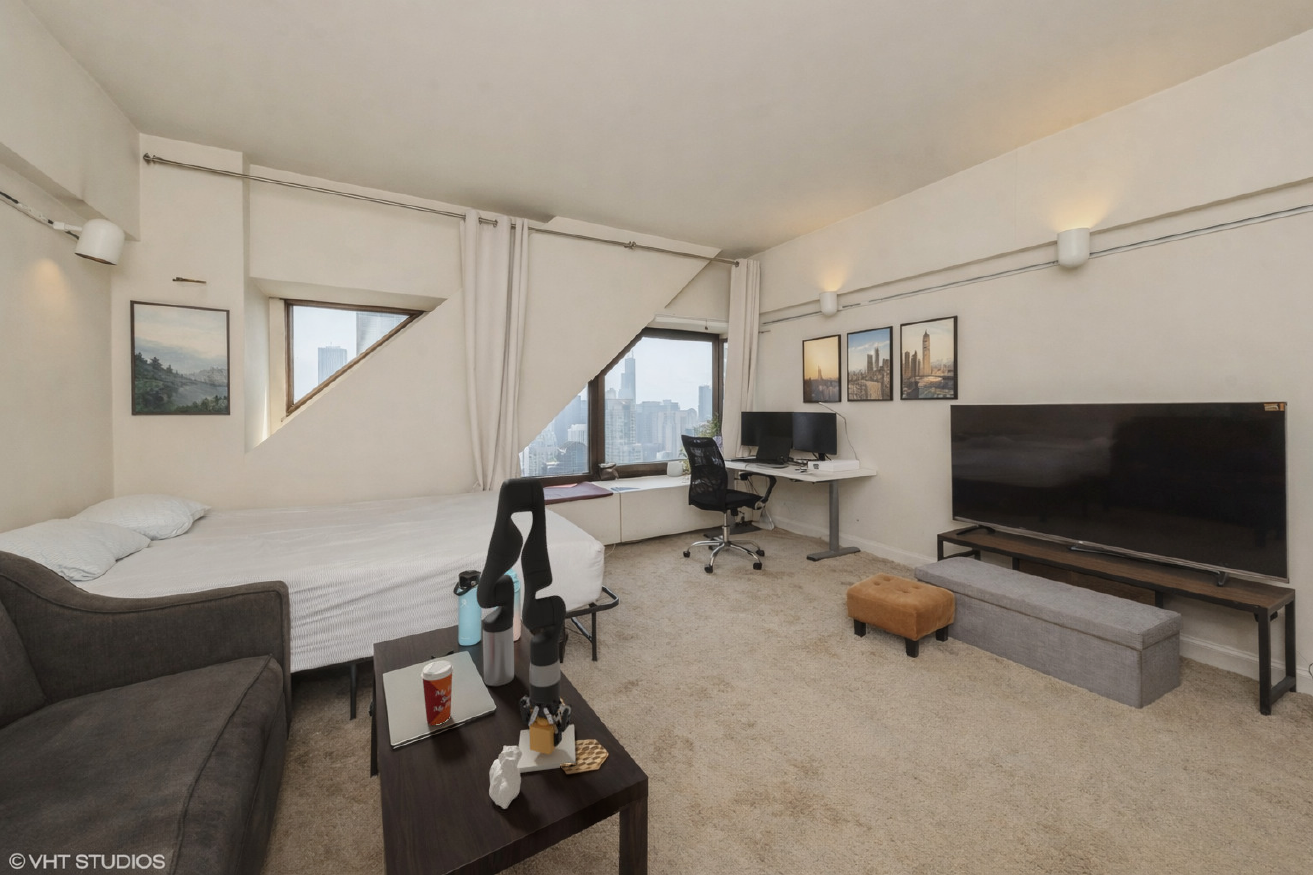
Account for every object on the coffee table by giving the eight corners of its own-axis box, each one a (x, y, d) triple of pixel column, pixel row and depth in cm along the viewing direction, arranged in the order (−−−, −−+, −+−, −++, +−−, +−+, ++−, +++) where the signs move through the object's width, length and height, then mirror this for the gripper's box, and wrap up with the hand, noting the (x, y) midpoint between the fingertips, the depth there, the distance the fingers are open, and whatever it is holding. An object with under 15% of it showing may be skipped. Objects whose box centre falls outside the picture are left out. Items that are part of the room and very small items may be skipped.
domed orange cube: (541, 735, 128) (541, 708, 128) (561, 739, 126) (560, 712, 126) (529, 749, 123) (529, 721, 122) (550, 754, 121) (549, 726, 121)
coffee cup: (442, 730, 134) (441, 676, 133) (415, 726, 136) (414, 673, 135) (461, 711, 142) (459, 660, 141) (435, 707, 144) (433, 657, 143)
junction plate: (521, 733, 133) (520, 712, 133) (574, 726, 136) (573, 707, 135) (516, 773, 119) (515, 750, 118) (575, 765, 121) (575, 743, 121)
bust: (515, 820, 108) (545, 768, 111) (487, 813, 104) (519, 759, 108) (498, 785, 118) (525, 738, 121) (471, 778, 114) (501, 729, 117)
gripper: (578, 673, 125) (578, 738, 126) (527, 664, 129) (528, 726, 130) (563, 690, 118) (564, 758, 119) (511, 679, 122) (512, 745, 123)
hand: (545, 741), depth 125 cm, fingers closed on domed orange cube, 5 cm apart
